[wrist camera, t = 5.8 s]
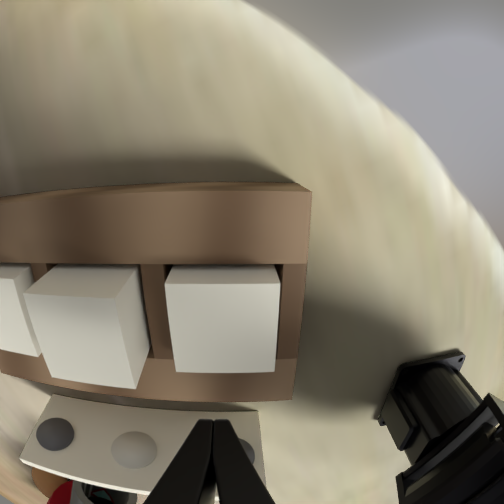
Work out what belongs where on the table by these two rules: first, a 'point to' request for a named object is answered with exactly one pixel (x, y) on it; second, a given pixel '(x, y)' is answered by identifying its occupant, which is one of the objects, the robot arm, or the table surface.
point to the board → (169, 266)
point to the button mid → (91, 322)
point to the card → (123, 442)
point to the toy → (77, 491)
